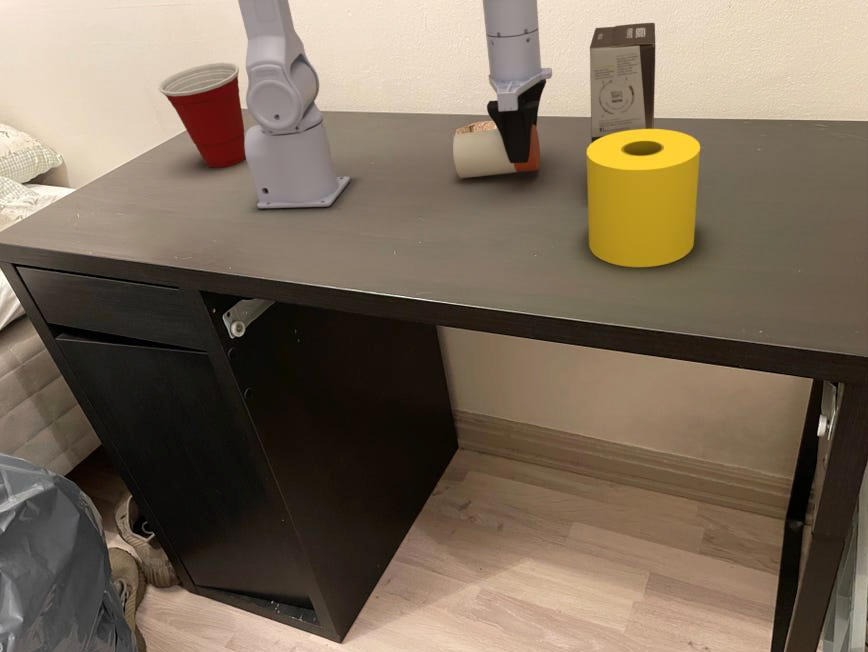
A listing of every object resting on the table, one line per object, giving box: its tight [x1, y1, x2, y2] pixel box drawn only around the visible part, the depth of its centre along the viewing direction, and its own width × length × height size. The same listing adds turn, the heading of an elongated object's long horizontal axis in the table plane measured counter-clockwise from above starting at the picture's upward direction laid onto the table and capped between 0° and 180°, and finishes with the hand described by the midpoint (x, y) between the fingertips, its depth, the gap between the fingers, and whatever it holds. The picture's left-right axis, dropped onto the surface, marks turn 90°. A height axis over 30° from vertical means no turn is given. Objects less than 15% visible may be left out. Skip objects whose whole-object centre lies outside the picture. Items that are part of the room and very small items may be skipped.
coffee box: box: [589, 22, 656, 144], centre depth 79 cm, size 9×6×16 cm
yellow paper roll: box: [586, 128, 701, 268], centre depth 69 cm, size 10×10×9 cm
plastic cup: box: [157, 62, 246, 168], centre depth 102 cm, size 11×11×12 cm
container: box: [452, 124, 541, 179], centre depth 88 cm, size 5×5×10 cm
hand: (522, 152), depth 88 cm, fingers closed on container, 5 cm apart
